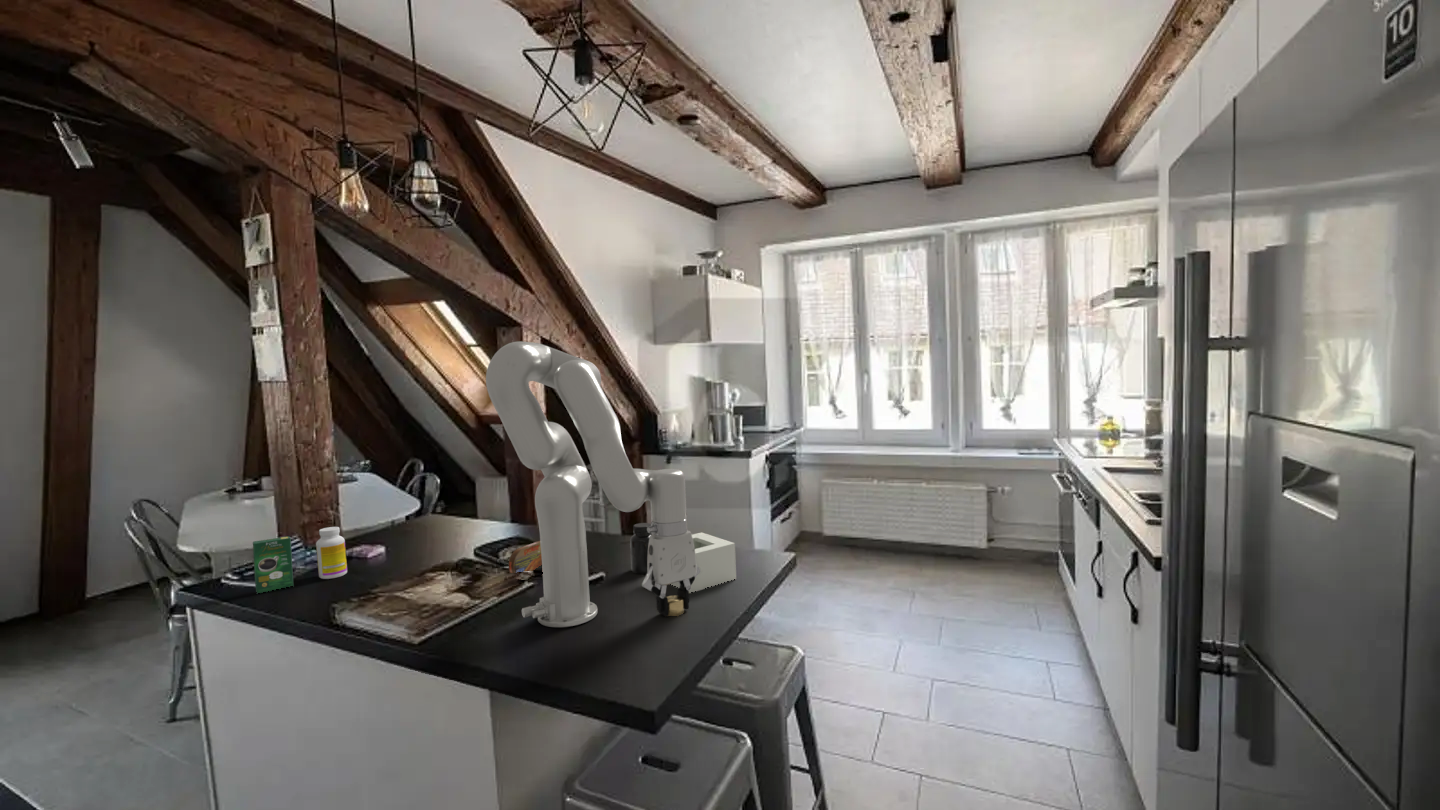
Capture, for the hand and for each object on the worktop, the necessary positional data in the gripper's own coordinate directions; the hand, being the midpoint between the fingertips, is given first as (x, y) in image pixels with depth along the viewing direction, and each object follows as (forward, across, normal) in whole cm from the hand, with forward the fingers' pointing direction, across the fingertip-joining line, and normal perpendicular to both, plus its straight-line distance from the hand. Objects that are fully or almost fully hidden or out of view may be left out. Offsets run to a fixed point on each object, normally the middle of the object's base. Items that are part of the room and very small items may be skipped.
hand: (673, 609), depth 139 cm
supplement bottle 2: (+1, +10, +29) cm, 31 cm away
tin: (+1, -13, +46) cm, 48 cm away
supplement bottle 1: (+1, -54, +85) cm, 101 cm away
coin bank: (+1, +16, +14) cm, 21 cm away
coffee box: (+1, -67, +83) cm, 107 cm away
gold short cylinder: (+1, 0, 0) cm, 1 cm away
